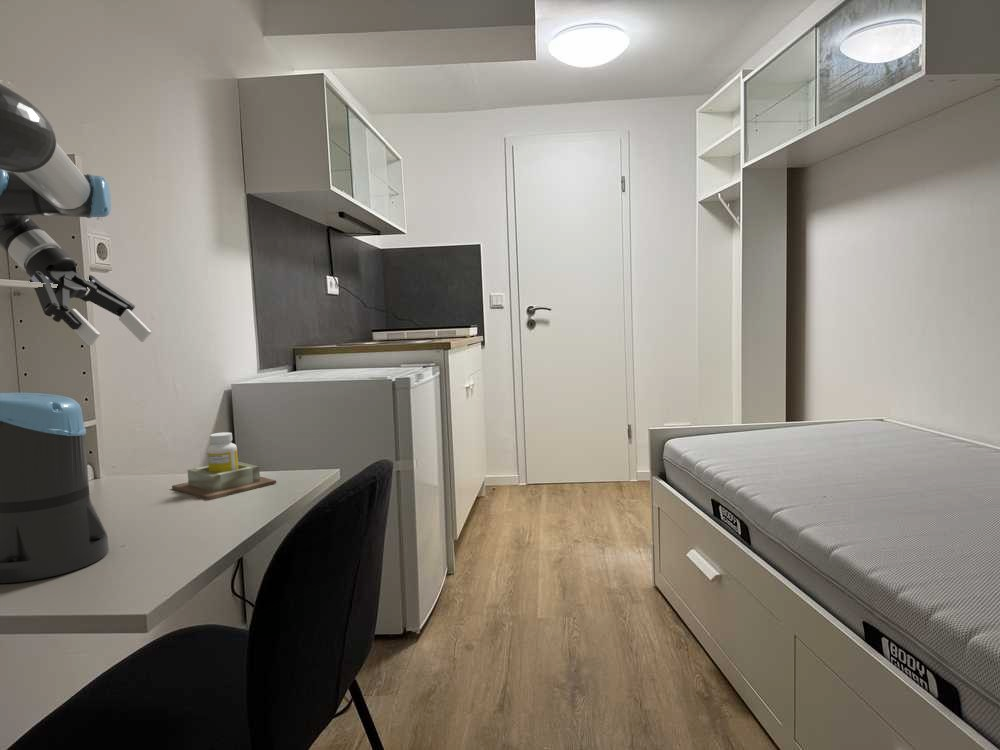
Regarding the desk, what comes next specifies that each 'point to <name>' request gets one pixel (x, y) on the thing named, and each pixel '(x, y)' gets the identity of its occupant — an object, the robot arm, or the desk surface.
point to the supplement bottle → (222, 453)
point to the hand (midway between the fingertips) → (122, 338)
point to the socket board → (222, 481)
